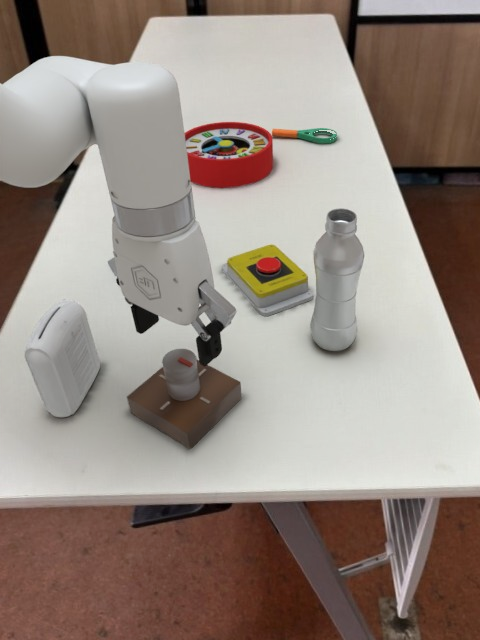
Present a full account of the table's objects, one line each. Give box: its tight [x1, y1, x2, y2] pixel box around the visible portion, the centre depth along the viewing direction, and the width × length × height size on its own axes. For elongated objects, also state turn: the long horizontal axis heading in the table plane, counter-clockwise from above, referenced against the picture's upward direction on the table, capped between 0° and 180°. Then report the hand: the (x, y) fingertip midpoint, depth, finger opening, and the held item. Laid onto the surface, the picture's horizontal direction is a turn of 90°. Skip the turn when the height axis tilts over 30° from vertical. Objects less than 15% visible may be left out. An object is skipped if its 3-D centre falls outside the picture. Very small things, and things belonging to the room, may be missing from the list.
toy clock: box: [184, 121, 274, 189], centre depth 122 cm, size 20×6×20 cm
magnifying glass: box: [271, 127, 338, 144], centre depth 134 cm, size 15×6×2 cm, turn 81°
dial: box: [161, 348, 200, 401], centre depth 69 cm, size 4×4×5 cm
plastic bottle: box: [309, 208, 365, 352], centre depth 75 cm, size 6×7×20 cm
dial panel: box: [126, 358, 243, 450], centre depth 72 cm, size 10×10×3 cm
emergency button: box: [221, 244, 314, 317], centre depth 91 cm, size 9×4×15 cm
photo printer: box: [24, 298, 101, 418], centre depth 71 cm, size 10×4×12 cm, turn 170°
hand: (178, 342), depth 66 cm, fingers open, 9 cm apart
